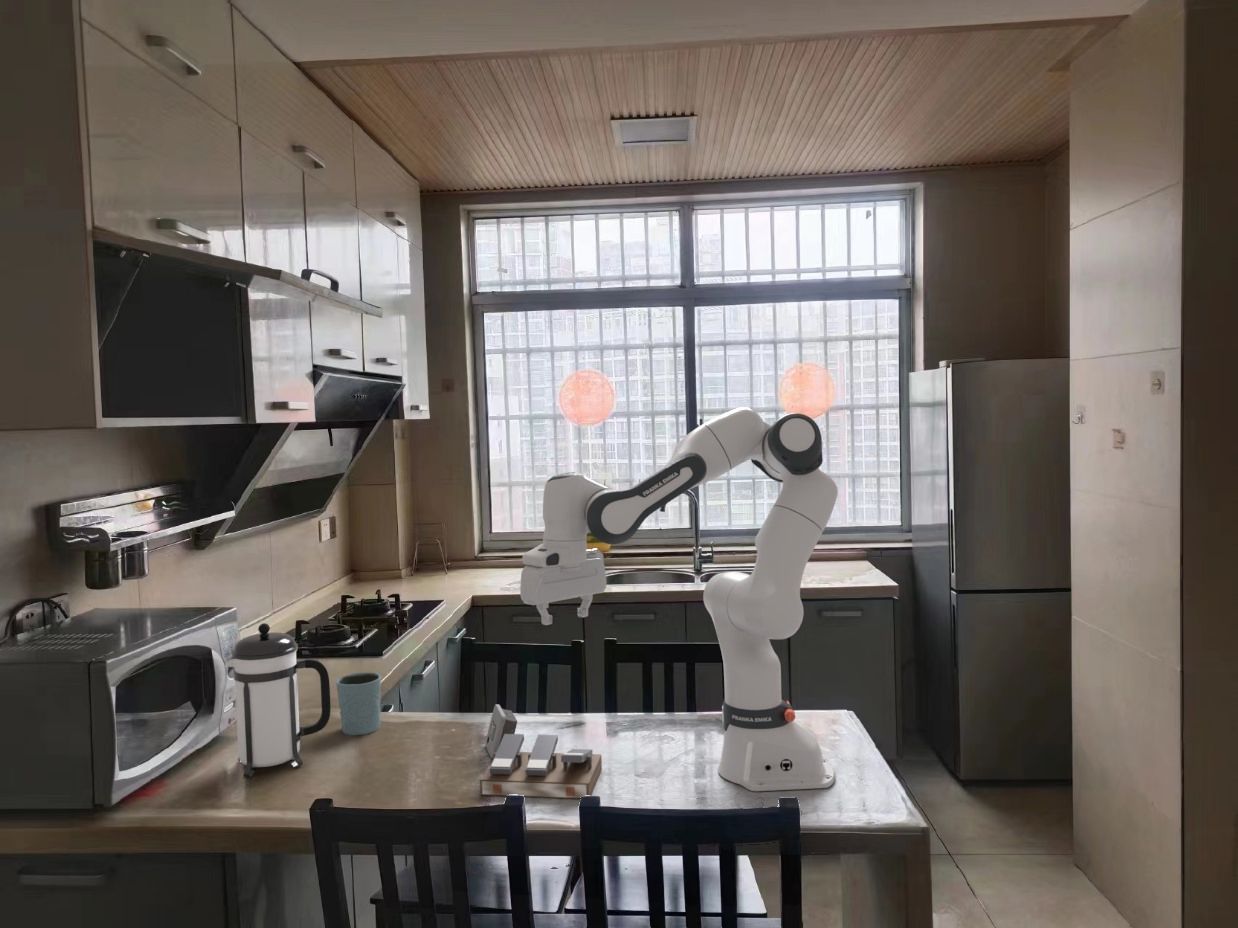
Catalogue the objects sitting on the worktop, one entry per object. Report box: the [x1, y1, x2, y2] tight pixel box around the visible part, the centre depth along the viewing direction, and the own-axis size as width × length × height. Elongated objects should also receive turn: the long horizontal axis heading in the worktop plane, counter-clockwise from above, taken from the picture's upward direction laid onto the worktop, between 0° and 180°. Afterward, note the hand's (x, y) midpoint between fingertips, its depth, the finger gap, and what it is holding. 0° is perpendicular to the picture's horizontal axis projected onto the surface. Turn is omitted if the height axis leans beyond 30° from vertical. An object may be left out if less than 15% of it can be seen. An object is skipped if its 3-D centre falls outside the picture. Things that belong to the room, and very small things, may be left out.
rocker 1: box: [489, 733, 525, 774], centre depth 169 cm, size 4×11×1 cm, turn 172°
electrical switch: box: [484, 704, 518, 760], centre depth 185 cm, size 9×5×9 cm, turn 17°
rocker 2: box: [561, 748, 593, 763], centre depth 167 cm, size 4×11×1 cm, turn 172°
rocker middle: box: [525, 734, 559, 776], centre depth 168 cm, size 4×11×1 cm, turn 172°
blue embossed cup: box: [335, 672, 382, 736], centre depth 201 cm, size 10×10×12 cm
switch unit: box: [479, 751, 603, 800], centre depth 168 cm, size 21×14×5 cm
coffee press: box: [224, 623, 332, 779], centre depth 181 cm, size 17×16×30 cm
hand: (565, 620), depth 175 cm, fingers open, 8 cm apart
